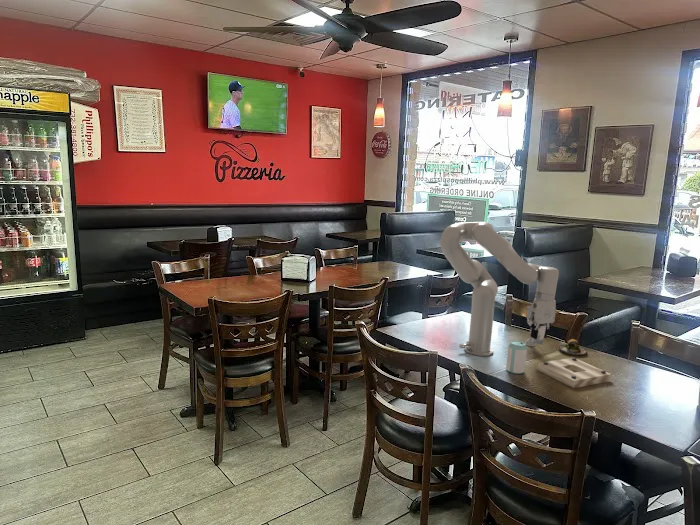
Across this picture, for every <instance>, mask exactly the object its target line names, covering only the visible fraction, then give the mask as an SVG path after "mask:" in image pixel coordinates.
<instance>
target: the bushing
mask: <svg viewBox="0 0 700 525" xmlns="http://www.w3.org/2000/svg"><path fill="white" fill-rule="evenodd" d="M535 326H536V324H535ZM537 330H538V336H537V339H534V338H532V342H533V343H535V345H536V344H537V345H543V344H544V342H545V338H544V336H545V330H546V324H539V326H538V329H537Z"/></svg>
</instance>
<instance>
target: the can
mask: <svg viewBox="0 0 700 525" xmlns="http://www.w3.org/2000/svg"><path fill="white" fill-rule="evenodd" d="M507 347H508V348H507V356H506V367H505V369H506V370H507V371H508V372H509V373H511V374H514V375H515V374H516V375H521V374H523V373H524V372H525V368H526V361H527V360H526V358H527V352H528V351H527V350H528V347H527V345H526V344H525V341H524V342H523V341H521V340H511V341H510V343H509V344H508V346H507Z"/></svg>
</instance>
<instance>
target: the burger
mask: <svg viewBox="0 0 700 525" xmlns="http://www.w3.org/2000/svg"><path fill="white" fill-rule="evenodd" d="M578 344H579V342H578V340H576V339H574V336H572V339H569V340H567V343H566V344H561V345H558V352H560V353H562V352H564V353H567V354H569V355H574V356H575V355H576V356H580V355H581V356H582V355H588V351H587V350H586V349H585V348H583V347H580V346H579V345H578Z"/></svg>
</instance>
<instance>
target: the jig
mask: <svg viewBox="0 0 700 525" xmlns="http://www.w3.org/2000/svg"><path fill="white" fill-rule="evenodd" d="M536 370H537V371H539V372H540V373H542V374H545V375H547V376H548V377H550V378H553V379H554V380H557V382H560V383H562V384H564V385H566V386H568V387H570V388H572V389H576V388H581V387H587V386H592V385H598V384H602V383H608V382H611V379H612V373H610V372H607V371H606V370H603V369H601V368H598V367H595V366H593V365H591V364H589V363H587V362H585V361H583V360H581V359H579V358H576V357H567V358H563V359H557V360H556V359H555V360H548V361H544V362H538V364H537V368H536Z"/></svg>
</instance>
